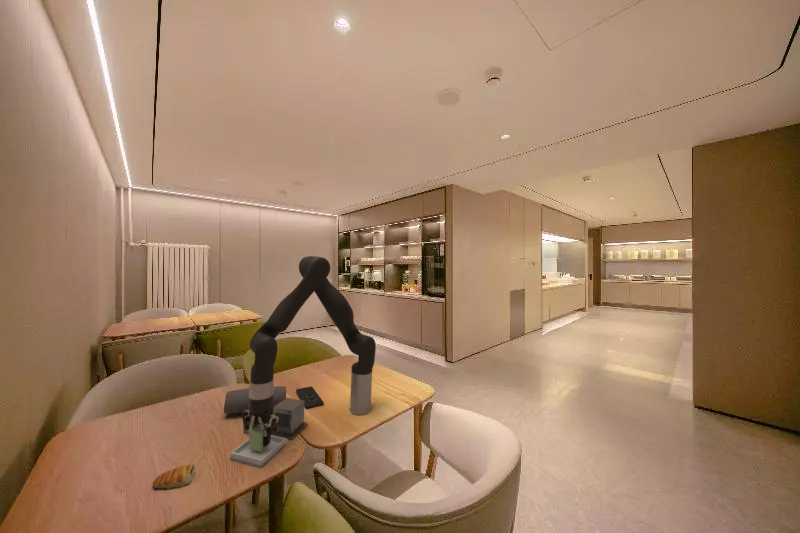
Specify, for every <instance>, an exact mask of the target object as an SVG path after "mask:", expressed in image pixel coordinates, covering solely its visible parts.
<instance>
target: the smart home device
mask: <svg viewBox="0 0 800 533" xmlns="http://www.w3.org/2000/svg"><path fill="white" fill-rule="evenodd" d="M295 392H296V395H297V397H298V398H299V400H302V401H305V404H304V410H309V409H314V408H315V409H316V408H319V407H323V406H324V400H322V398H321V396H320V395H319V393H318V392H317V391H316V390H315V388H314V387H313V386H307V387H301V388H296V390H295Z"/></svg>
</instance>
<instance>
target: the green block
mask: <svg viewBox="0 0 800 533" xmlns="http://www.w3.org/2000/svg"><path fill="white" fill-rule="evenodd" d="M267 431H268V430H267ZM263 436H264V434H263V430H261V426H260V425H257V426H256V427H254V428H253V429H251V430H250V435H249V438H250V440H249V449H253V450H257V451H261V450H263V449H264V448H265V447H263ZM269 444H270V443H269Z"/></svg>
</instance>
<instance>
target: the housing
mask: <svg viewBox="0 0 800 533" xmlns="http://www.w3.org/2000/svg"><path fill="white" fill-rule="evenodd" d="M304 404H305V401H302V400H300V399H296V398H290V397H286V399H284V400H283V401H281V402H280V403H279V404H277V405H276V406H274V407H273V409H272V412H273V415H275V416H278V415H279V416H280V420H279V423H278V427H277V430H276V432H275V433H273V434H272V435H273V436H278V437H282V438H286V440H291V441H292V440H293V439H294V438H296V437H297V435H299V434H300V433H301V432H302V431H303V430H304V429H305V428H306V427H308V422H305V407H304Z"/></svg>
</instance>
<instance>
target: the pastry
mask: <svg viewBox="0 0 800 533" xmlns="http://www.w3.org/2000/svg"><path fill="white" fill-rule="evenodd" d="M195 472H196V468H195V465H194V463H192V462H191V463H190V464H184V465H178V466H176V467H175V468H173V469H170V470H166V471H165V472H162V473H161V474H158V476H157V477H156V478H155V479H153V481H152V485H153V487H154V489H156V488H161V489H162V488H167V489H166V490H170V489H174V488H173V487H176V488H180V486H181V487H184V485H185V486H188V485H189V484H190V483H191V482H192V480H193V476H194V475H195ZM169 488H170V489H169Z"/></svg>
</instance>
